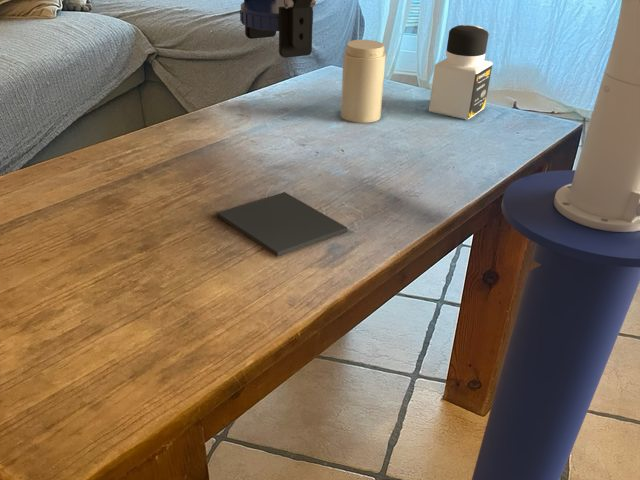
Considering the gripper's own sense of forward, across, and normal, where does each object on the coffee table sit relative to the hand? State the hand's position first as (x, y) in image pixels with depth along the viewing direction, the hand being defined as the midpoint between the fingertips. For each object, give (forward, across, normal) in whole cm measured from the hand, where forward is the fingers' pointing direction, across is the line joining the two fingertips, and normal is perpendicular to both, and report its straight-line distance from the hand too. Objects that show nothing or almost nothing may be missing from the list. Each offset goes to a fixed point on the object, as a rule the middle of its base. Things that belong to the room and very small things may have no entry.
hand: (277, 44), depth 65 cm
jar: (+19, -28, +29) cm, 44 cm away
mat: (+19, 0, 0) cm, 19 cm away
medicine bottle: (+19, -24, +45) cm, 54 cm away
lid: (-3, 0, 0) cm, 3 cm away
